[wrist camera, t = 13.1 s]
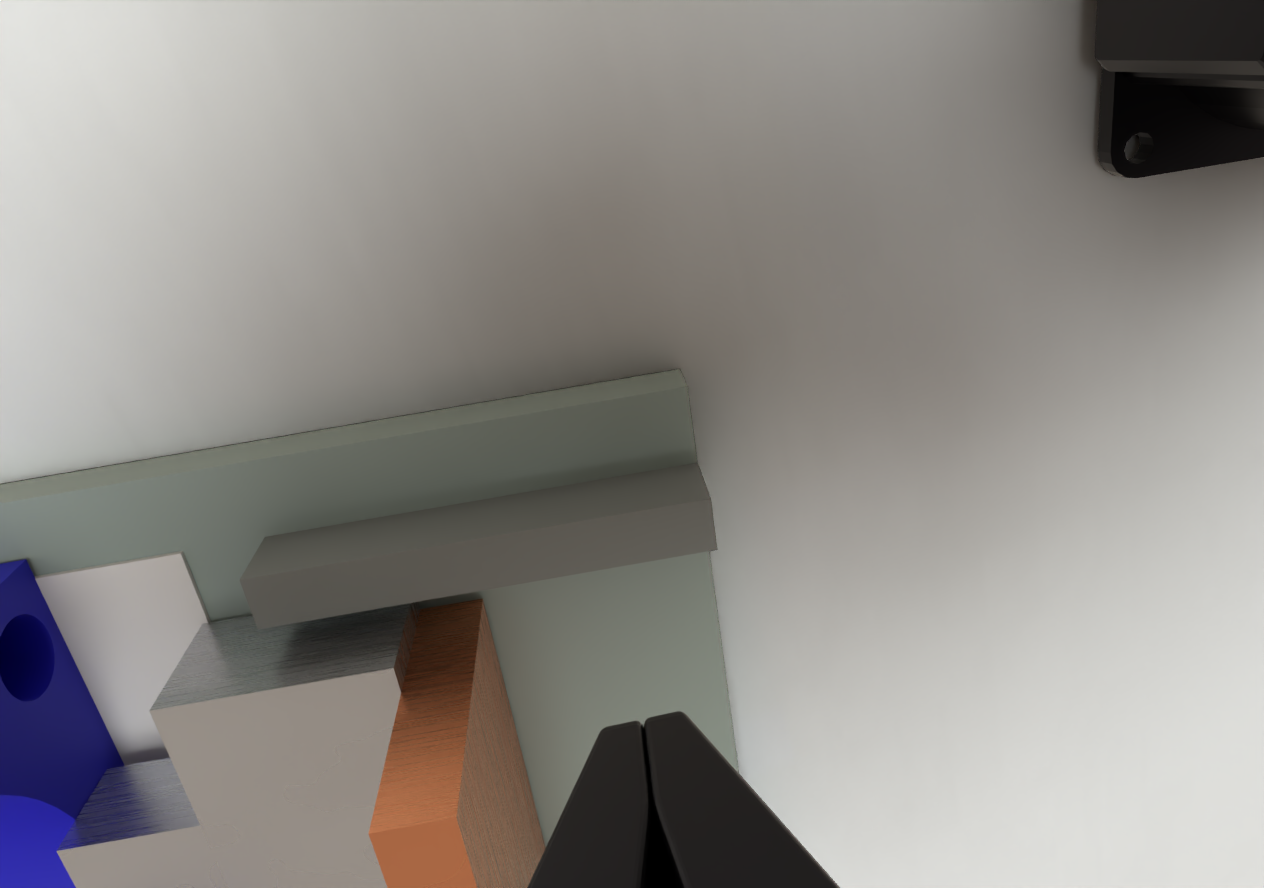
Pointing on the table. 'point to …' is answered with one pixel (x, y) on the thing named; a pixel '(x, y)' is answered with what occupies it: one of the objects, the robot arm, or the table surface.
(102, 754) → the blue flanged block
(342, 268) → the table surface
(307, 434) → the grey fixture base
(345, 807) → the ram
